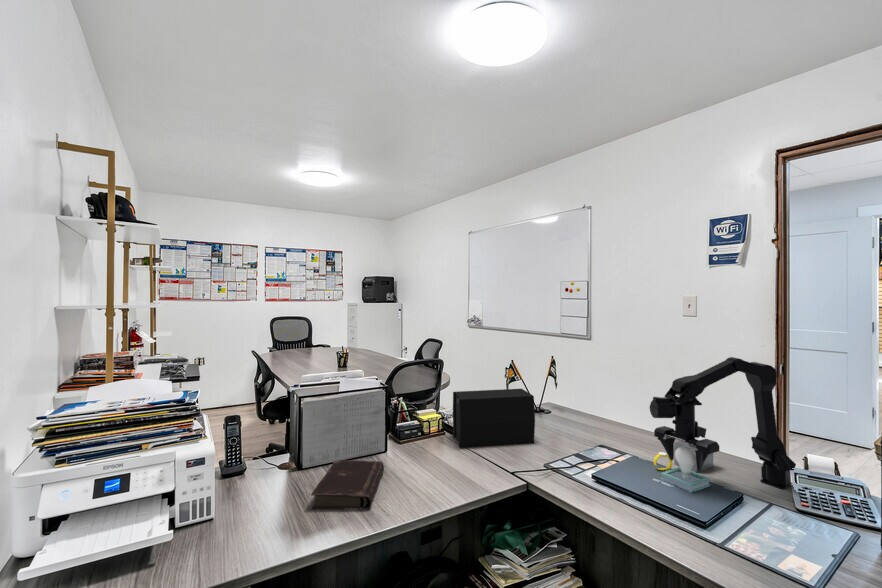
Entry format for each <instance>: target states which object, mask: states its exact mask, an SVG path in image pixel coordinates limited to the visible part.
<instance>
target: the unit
mask: <svg viewBox="0 0 882 588" xmlns="http://www.w3.org/2000/svg"><path fill="white" fill-rule="evenodd" d="M681 446H686V447H689V448H691V449H692V450H694V452H695V451H697V448H696V445H693V444H690V443H687V442H684V441H681V440H678V441H674V459H673V462H674V466H678V467H680V466H679V464H678V462H677V460H676V459H675V451H676V449H677V448H679V447H681ZM712 468H714V453H712V454H709V455H708V456H707V458H706V460H705V462H704V464H703V467H702V469H701V470H700V471H699V470H698V469H697V462H696V464H695V465H694V466H693V467H692V470H691V471H692V472H695V473H697V474H698V473H700V472H703V471H707V470H709V469H712Z"/></svg>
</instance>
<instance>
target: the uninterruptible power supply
mask: <svg viewBox="0 0 882 588" xmlns="http://www.w3.org/2000/svg"><path fill="white" fill-rule="evenodd" d="M535 411H536V410H535V397H534V395H533V394H531V393H529V392H528V391H526V390H525V389H523V388H508V389H505V388H504V389H488V390H487V389H484V390H481V389H480V390H464V391H463V390H462V391H460V390H459V391H453V392H452V431H453V433H452V434H453V435H452V436H453V438H454V439H456V441H457V443H458V447H459V449H465V448H466V449H468V448H469V449H470V448H482V447H483V448H485V447H496V446H497V447H498V446H512V445H526V444H527V445H528V444H535V433H536V432H535V431H536V430H535V428H536V426H535V425H536V413H535Z"/></svg>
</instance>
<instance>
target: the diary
mask: <svg viewBox="0 0 882 588" xmlns="http://www.w3.org/2000/svg"><path fill="white" fill-rule="evenodd" d="M384 471H385V466H384V462H383V461H380V460H379V461H375V460H374V461H373V460H359V459H355V460H353V459H352V460H350V459H345V460H335V461H333V463H332V464H331V465H330V467H329V469H328V470H327V471H326V473H325V474H324V476H323V477H322V478H321V480H320V481H319V482H318V483H317V485H316V486H315V488H314V489H313V490H312V492H311V494H310V495H311V496H314V504H313V505H312V507H311V508H310V510H315V511H316V510H317V511H318V510H320V511H321V510H331V511H332V510H334V511H335V510H342V511H343V510H345V509H359V508H361V510H363V509H364V508H365V507H366V506H367V505H368V502H369V506H368V509H367V510H370V509H371V507H372V504H373V502H374V498H375V495H376V493H377V490H378V487H379V485H380V482H381V480H382V479H381V478H382V476H383V474H384ZM362 503H363V505H362ZM361 505H362V507H361Z"/></svg>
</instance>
